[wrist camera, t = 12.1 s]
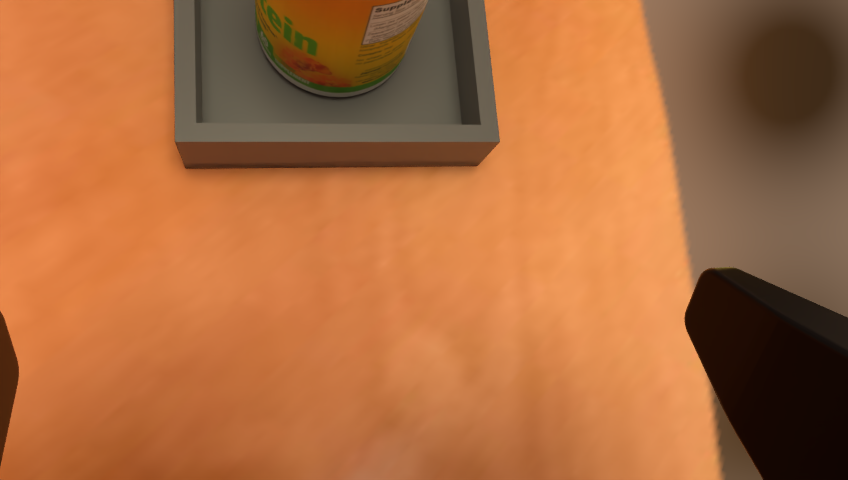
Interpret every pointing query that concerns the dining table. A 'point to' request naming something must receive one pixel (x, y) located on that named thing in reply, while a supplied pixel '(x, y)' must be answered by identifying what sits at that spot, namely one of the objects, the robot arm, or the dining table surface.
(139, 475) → the dining table surface
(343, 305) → the dining table surface
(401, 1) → the supplement bottle
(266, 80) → the charcoal tray
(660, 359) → the dining table surface
